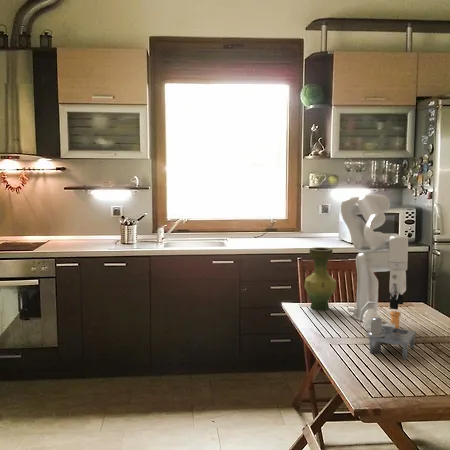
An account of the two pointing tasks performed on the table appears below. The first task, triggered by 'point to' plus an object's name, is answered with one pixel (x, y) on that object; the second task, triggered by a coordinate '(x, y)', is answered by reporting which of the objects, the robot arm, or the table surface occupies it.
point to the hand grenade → (368, 315)
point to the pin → (395, 318)
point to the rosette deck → (389, 336)
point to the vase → (320, 280)
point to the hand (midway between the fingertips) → (396, 306)
